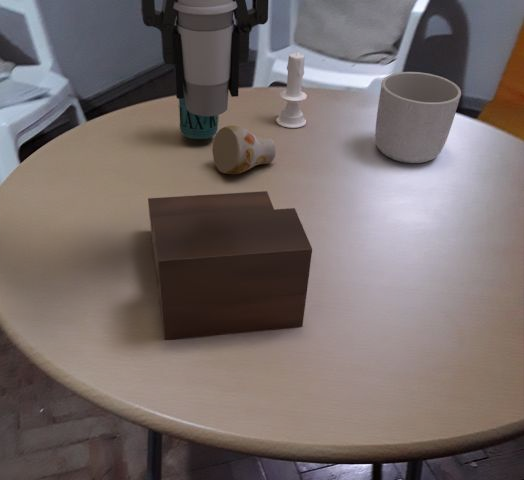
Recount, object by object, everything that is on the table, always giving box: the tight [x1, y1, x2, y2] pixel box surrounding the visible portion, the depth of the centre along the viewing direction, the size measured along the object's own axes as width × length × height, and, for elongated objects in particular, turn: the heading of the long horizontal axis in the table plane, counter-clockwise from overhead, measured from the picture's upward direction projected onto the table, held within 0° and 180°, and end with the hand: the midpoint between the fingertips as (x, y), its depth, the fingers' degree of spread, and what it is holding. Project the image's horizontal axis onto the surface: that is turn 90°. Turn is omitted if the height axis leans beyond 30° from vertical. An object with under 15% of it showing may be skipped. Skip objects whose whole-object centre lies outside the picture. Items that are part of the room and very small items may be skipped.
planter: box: [374, 71, 462, 164], centre depth 102 cm, size 12×12×11 cm
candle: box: [275, 50, 308, 129], centre depth 108 cm, size 5×5×12 cm
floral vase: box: [211, 125, 277, 175], centre depth 97 cm, size 8×10×10 cm
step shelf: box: [147, 190, 313, 341], centre depth 76 cm, size 22×16×11 cm
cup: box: [173, 0, 237, 116], centre depth 66 cm, size 7×7×12 cm
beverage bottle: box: [177, 83, 220, 140], centre depth 98 cm, size 6×7×20 cm
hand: (206, 92), depth 69 cm, fingers closed on cup, 5 cm apart
